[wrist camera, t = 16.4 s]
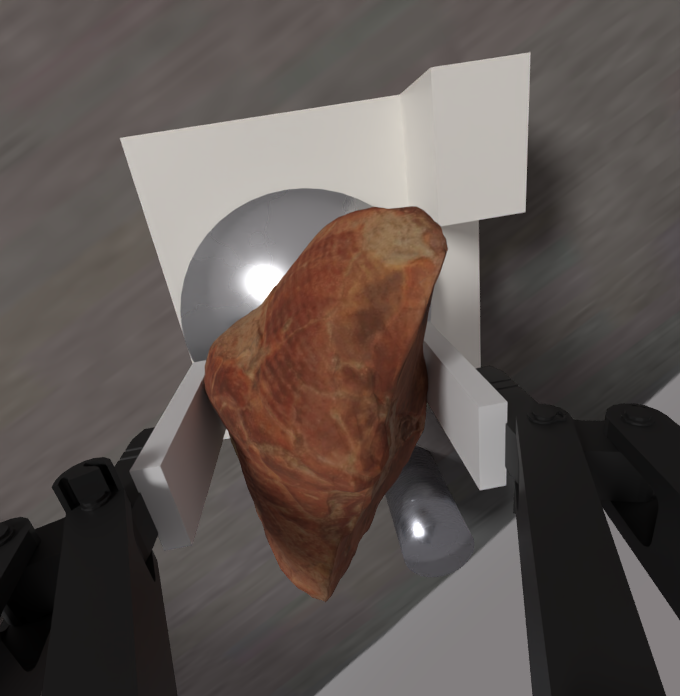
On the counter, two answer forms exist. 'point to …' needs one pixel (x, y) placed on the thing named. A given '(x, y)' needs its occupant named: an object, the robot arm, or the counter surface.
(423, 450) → the metal cylinder
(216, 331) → the pan
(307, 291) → the brown lumpy chunk
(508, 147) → the scale
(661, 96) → the counter surface
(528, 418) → the robot arm
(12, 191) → the counter surface
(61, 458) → the counter surface
